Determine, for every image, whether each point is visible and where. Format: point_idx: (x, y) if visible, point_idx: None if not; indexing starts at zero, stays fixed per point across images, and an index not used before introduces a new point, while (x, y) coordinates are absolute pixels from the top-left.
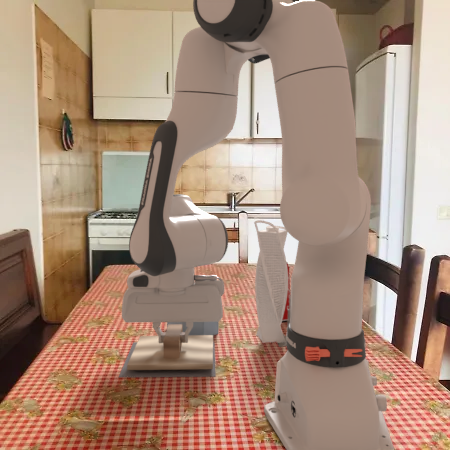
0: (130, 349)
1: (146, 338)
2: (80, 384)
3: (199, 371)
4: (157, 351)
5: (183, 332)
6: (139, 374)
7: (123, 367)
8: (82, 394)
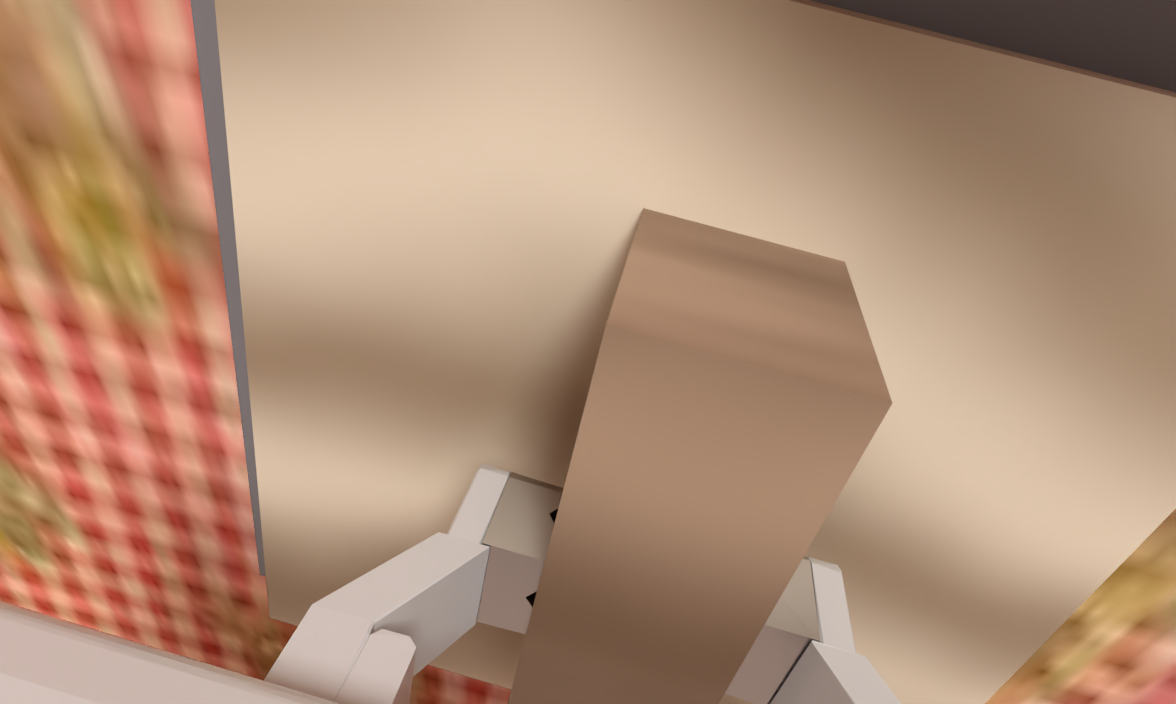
0: (202, 79)
1: (323, 31)
2: (76, 540)
3: None
4: None
5: (783, 641)
6: None
7: (253, 466)
8: (139, 626)
